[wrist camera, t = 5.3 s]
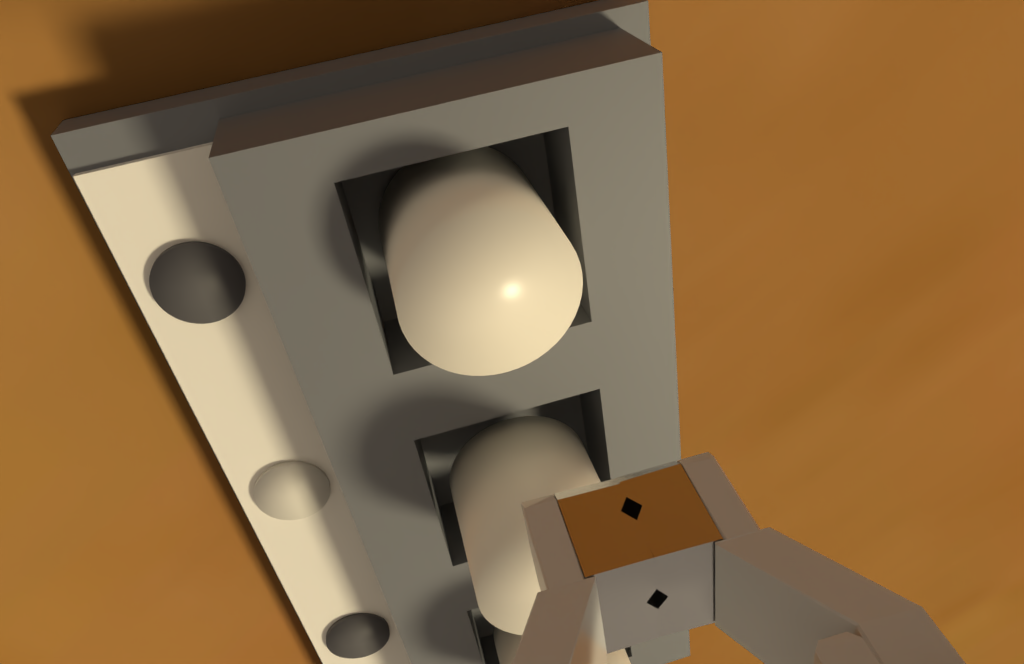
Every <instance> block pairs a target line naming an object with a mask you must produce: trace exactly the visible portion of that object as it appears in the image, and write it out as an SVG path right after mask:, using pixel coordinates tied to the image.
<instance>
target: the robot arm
mask: <svg viewBox="0 0 1024 664" xmlns="http://www.w3.org/2000/svg"><path fill="white" fill-rule="evenodd" d="M521 507H522V512H523V516H524V521H525V526H526V531H527V535H528V540H529V545H530V550H531V554H532V558H533V562H534V566H535V571H536V575H537V579H538V583H539V587H540V590H541V592H538V593H537V595H536V598H535V601H534V604H533V606H532V609H531V612H530V615H529V617H528V620H527V623H526V626H525V629H524V631H523V634H522V637H521V640H520V642H519V645H518V648H517V651H516V653H515V656H514V659H513V662H512V664H606V663H607V658H608V657H607V654H608V653H611V652H614V651H618V650H621V649H624V648H627V647H630V646H633V645H636V644H639V643H642V642H646V641H649V640H652V639H655V638H658V637H662V636H665V635H669V634H673V633H677V632H681V631H685V630H688V629H692V628H696V627H700V626H704V625H708V624H711V623H715V626H717V627H718V628H719V629H721V630H722V631H723V632H725V633H726V634H727V635H728V636H730V637H731V638H732V639H734V640H735V641H736V642H738V643H739V644H740V645H742V646H743V647H744V648H745V649H747V650H748V651H749V652H751V653H752V654H753V655H755V656H756V657H757V658H758V659H760V660H761V661H762V662H764V663H765V664H966V663H965V662H964V661H963V659H962V658H961V657H960V656H959V654H958V653H957V652H956V650H955V649H954V648H953V646H952V645H951V644H950V643H949V641H948V640H947V639H946V637H945V636H944V635H943V633H942V632H941V631H940V630H939V628H938V627H937V626H936V624H935V623H934V622H933V620H932V619H931V618H930V617H929V615H928V614H927V613H926V611H925V610H924V609H923V608H922V607H921V606H919V605H917V604H915V603H913V602H911V601H909V600H907V599H905V598H904V597H902V596H900V595H898V594H896V593H894V592H892V591H890V590H888V589H886V588H884V587H883V586H881V585H879V584H877V583H875V582H873V581H871V580H869V579H867V578H865V577H863V576H862V575H860V574H858V573H856V572H854V571H852V570H850V569H848V568H846V567H844V566H843V565H841V564H839V563H837V562H835V561H833V560H831V559H829V558H827V557H825V556H823V555H822V554H820V553H818V552H816V551H814V550H812V549H810V548H808V547H806V546H804V545H803V544H801V543H799V542H797V541H795V540H793V539H791V538H789V537H787V536H785V535H783V534H782V533H780V532H778V531H776V530H774V529H772V528H770V527H769V528H765V529H761V530H760V528H759V527H758V525H757V524H756V522H755V520H754V519H753V517H752V516H751V514H750V513H749V511H748V509H747V508H746V506H745V505H744V503H743V502H742V500H741V498H740V497H739V495H738V494H737V492H736V490H735V489H734V487H733V486H732V484H731V483H730V481H729V479H728V478H727V476H726V475H725V473H724V472H723V470H722V468H721V467H720V465H719V464H718V462H717V461H716V459H715V457H714V456H713V455H711V454H710V453H709V452H706V453H703V454H699V455H696V456H692V457H688V458H685V459H681V460H677V462H675V461H673V462H669V463H666V464H662V465H659V466H655V467H652V468H648V469H645V470H641V471H638V472H634V473H630V474H627V475H623V476H620V477H616V478H615V479H612V480H608V481H604V482H599V483H595V484H591V485H587V486H583V487H579V488H575V489H571V490H567V491H563V492H558V493H554V496H553V494H552V495H548V496H544V497H540V498H536V499H532V500H528V501H524V502H522V503H521Z"/></svg>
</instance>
